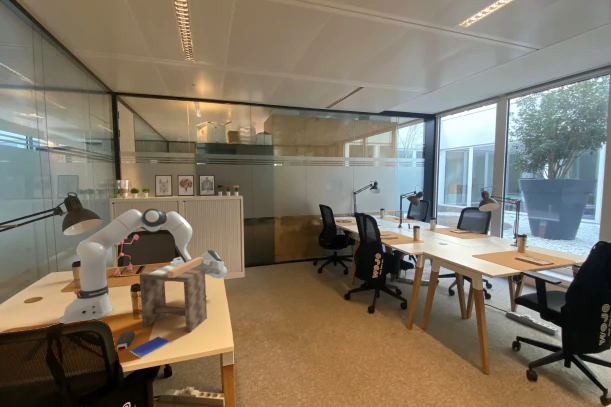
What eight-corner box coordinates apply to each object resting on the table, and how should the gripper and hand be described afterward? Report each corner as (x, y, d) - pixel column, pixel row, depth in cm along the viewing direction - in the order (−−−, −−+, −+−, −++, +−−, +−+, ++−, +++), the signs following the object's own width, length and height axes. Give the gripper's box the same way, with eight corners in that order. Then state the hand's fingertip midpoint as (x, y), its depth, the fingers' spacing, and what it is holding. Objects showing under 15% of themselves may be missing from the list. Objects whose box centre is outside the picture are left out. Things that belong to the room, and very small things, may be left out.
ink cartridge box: (182, 274, 218) (181, 255, 217) (185, 275, 215) (184, 256, 214) (170, 277, 211) (169, 257, 210) (174, 279, 208) (173, 258, 207)
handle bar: (173, 277, 135) (173, 271, 134) (167, 277, 135) (167, 271, 135) (203, 262, 158) (203, 257, 158) (198, 262, 159) (198, 256, 158)
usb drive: (134, 335, 136) (134, 329, 135) (128, 349, 124) (128, 343, 124) (122, 337, 134) (121, 331, 134) (114, 352, 123) (114, 346, 122)
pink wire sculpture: (144, 269, 231) (140, 225, 227) (109, 280, 208) (104, 231, 205) (132, 267, 238) (128, 224, 235) (97, 277, 215) (92, 229, 212)
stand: (190, 332, 136) (187, 277, 134) (142, 326, 143) (139, 273, 140) (206, 318, 150) (204, 267, 148) (163, 313, 156) (160, 264, 154)
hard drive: (140, 356, 117) (169, 341, 128) (129, 349, 122) (157, 335, 132) (141, 359, 118) (169, 344, 128) (129, 353, 122) (158, 339, 132)
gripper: (194, 260, 170) (180, 254, 158) (226, 262, 165) (215, 256, 153) (191, 271, 168) (177, 265, 155) (224, 273, 163) (212, 268, 151)
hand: (196, 261), depth 154 cm, fingers open, 6 cm apart
